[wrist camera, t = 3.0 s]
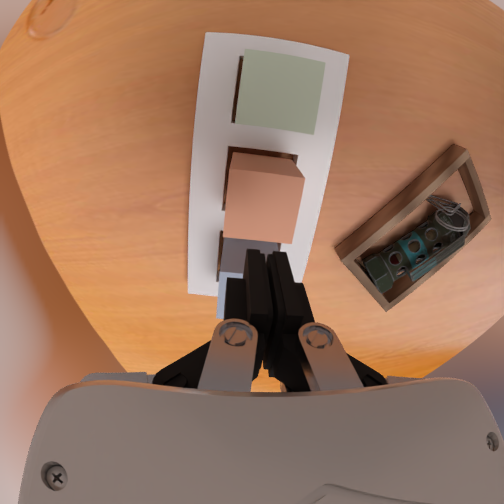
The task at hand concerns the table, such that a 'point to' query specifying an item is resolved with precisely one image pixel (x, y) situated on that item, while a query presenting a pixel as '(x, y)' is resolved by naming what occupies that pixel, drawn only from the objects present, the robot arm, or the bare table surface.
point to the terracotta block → (262, 198)
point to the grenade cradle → (403, 207)
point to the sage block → (279, 91)
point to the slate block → (237, 263)
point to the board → (238, 135)
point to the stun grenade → (420, 246)
